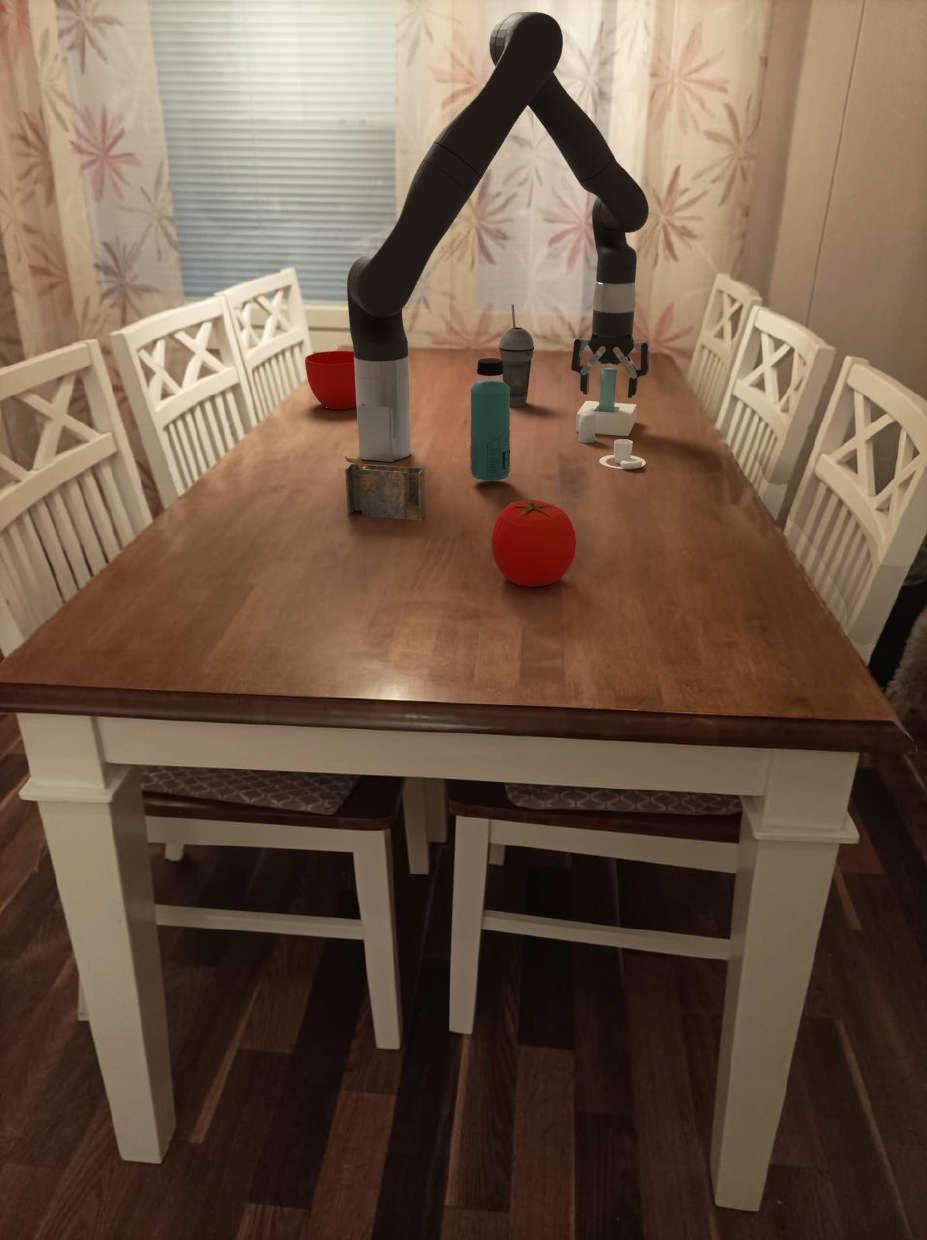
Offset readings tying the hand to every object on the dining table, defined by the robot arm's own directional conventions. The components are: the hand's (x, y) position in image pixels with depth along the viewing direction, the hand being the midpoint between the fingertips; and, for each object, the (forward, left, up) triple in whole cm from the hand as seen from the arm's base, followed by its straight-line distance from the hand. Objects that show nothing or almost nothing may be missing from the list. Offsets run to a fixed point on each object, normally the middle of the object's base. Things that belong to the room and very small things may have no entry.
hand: (608, 395), depth 183 cm
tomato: (-73, -2, -6) cm, 73 cm away
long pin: (0, 0, -6) cm, 6 cm away
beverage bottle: (-38, +13, -6) cm, 41 cm away
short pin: (-10, +2, -6) cm, 12 cm away
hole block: (0, 0, -6) cm, 6 cm away
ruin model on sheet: (-56, +24, -7) cm, 61 cm away
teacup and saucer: (-24, -5, -7) cm, 25 cm away
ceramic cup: (+1, +54, -6) cm, 54 cm away
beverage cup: (+12, +21, -6) cm, 25 cm away
